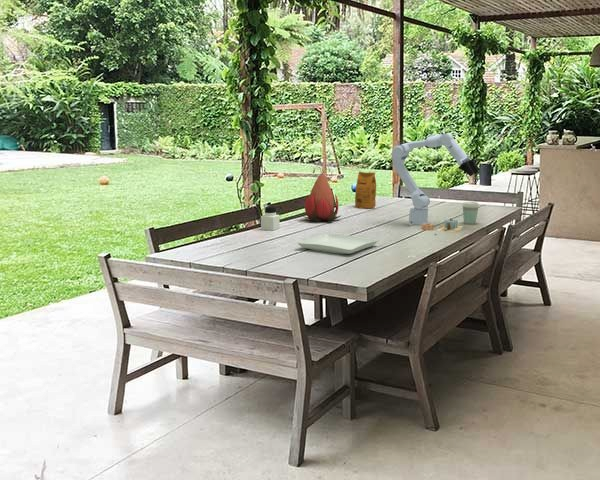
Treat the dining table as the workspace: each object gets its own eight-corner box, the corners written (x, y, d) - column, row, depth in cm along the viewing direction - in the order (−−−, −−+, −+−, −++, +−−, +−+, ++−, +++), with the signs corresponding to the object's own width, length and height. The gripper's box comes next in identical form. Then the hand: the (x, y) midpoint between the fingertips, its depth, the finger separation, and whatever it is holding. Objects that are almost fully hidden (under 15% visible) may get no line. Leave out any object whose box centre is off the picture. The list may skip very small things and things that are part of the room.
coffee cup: (478, 227, 363) (479, 204, 361) (461, 226, 365) (462, 203, 362) (477, 224, 371) (478, 202, 369) (461, 223, 373) (462, 201, 370)
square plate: (351, 257, 293) (351, 248, 292) (295, 250, 307) (295, 241, 306) (379, 246, 315) (379, 238, 314) (326, 240, 329) (326, 232, 328)
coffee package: (360, 205, 436) (360, 170, 431) (377, 207, 429) (378, 171, 425) (352, 207, 427) (352, 171, 423) (370, 209, 421) (371, 173, 416)
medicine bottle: (279, 228, 357) (279, 205, 355) (273, 230, 351) (273, 207, 348) (267, 227, 360) (267, 204, 358) (260, 229, 354) (260, 206, 351)
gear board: (435, 232, 348) (436, 223, 347) (441, 226, 364) (442, 218, 363) (458, 234, 344) (458, 225, 343) (463, 227, 360) (463, 219, 359)
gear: (443, 228, 354) (443, 219, 354) (445, 225, 360) (445, 217, 359) (456, 228, 352) (456, 220, 351) (458, 226, 358) (458, 218, 357)
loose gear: (420, 231, 349) (420, 224, 349) (422, 229, 355) (423, 223, 354) (432, 232, 347) (432, 225, 347) (434, 230, 353) (434, 223, 352)
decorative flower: (321, 225, 367) (321, 168, 362) (292, 219, 384) (292, 164, 379) (350, 220, 382) (351, 165, 376) (321, 215, 399) (322, 162, 393)
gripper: (458, 149, 343) (476, 170, 340) (468, 146, 355) (485, 167, 352) (448, 158, 346) (465, 179, 344) (458, 155, 358) (474, 176, 356)
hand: (474, 174), depth 348 cm, fingers open, 7 cm apart
